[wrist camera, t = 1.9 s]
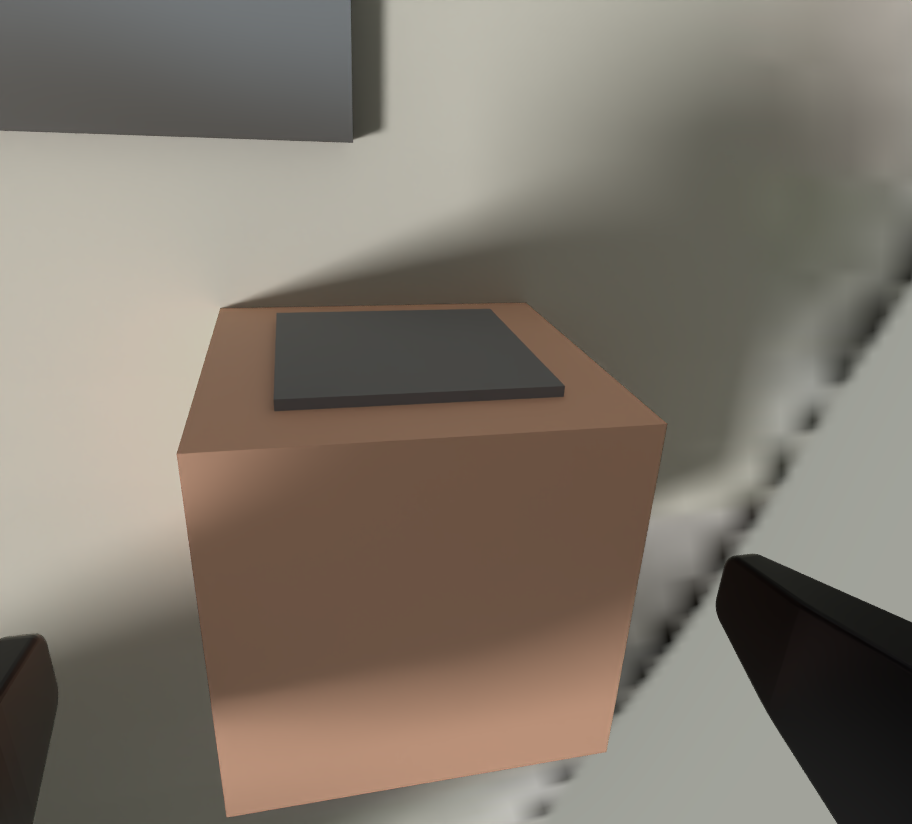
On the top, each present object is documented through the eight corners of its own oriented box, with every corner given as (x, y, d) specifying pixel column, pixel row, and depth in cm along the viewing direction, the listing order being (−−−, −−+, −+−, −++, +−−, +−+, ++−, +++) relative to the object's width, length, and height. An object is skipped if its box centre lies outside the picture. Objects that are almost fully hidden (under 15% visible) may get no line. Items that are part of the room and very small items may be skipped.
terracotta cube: (504, 543, 15) (606, 751, 10) (246, 568, 14) (226, 817, 9) (525, 294, 13) (669, 412, 8) (219, 298, 12) (175, 439, 7)
